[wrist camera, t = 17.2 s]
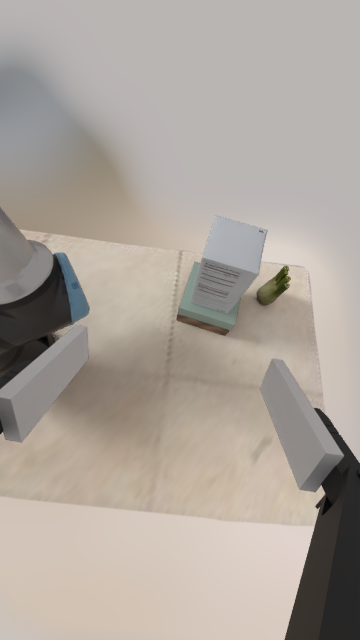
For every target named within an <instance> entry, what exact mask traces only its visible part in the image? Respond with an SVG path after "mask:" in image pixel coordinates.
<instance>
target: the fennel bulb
mask: <svg viewBox="0 0 360 640" xmlns="http://www.w3.org/2000/svg"><path fill="white" fill-rule="evenodd" d="M288 270H289V267H288V266H284V267H283V268H282V269H281V271H280V272H279V273H278V274H277V275H276V276H275V277H274V278H272V279H271V280H269V281H268V282H267V283H266V284H265V285H263V286H262V287H261V288H259V290H258V292H257V298H258V300H259V302H260V303H261V304H263V305H268V304H270V303H272V302H273V301H275V300H276V299H277V298H278V297H279V296H280V295H281V294H282V293H283V292H284V291H285V290H287V289H288V288H289V286H290V285H289V284H287V283H288V282H289V281H290V280H291V278H290V277H289V276H287V274H288Z"/></svg>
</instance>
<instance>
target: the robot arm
mask: <svg viewBox="0 0 360 640" xmlns="http://www.w3.org/2000/svg"><path fill="white" fill-rule="evenodd" d="M89 310H90V308H89V305H88V302H87V299H86V297H85V295H84V292H83V290H82V288H81V285H80V283H79V281H78V279H77V277H76V274H75V272H74V270H73V268H72V266H71V263H70V261H69V259H68V257H67V256H66V254H65V253H55V254H54V255H53V254H52V253H51V251H50V250H49V249H48V248H47V247H46V246H45V245H43V244H42V243H39V242H37V241H32V240H27V239H26V238H25V237H24V235H23V234H22V233H21V232H20V231H19V229H18V228H17V227H16V226H15V225H14V223H13V222H12V221H11V220H10V218H9V217H8V216H7V215H6V214H5V212H4V211H3V210H2V209H1V208H0V434H1V433H2V432H3V433H4V436H5V439H6V440H10V441H16V442H23V441H24V439H25V438H26V437H27V436H28V434H29V433H30V432H31V430H32V429H33V428H34V427H35V425H36V424H37V423H38V422H39V420H40V419H41V418H42V417H43V415H44V414H45V413H46V412H47V410H48V409H49V408H50V407H51V405H52V404H53V403H54V402H55V400H56V399H57V398H58V396H59V395H60V394H61V393H62V391H63V390H64V389H65V388H66V386H67V385H68V384H69V383H70V381H71V380H72V379H73V378H74V376H75V375H76V374H77V373H78V371H79V370H80V369H81V367H82V366H83V365H84V364H85V362H86V361H87V360H88V334H87V326H81V325H75V326H74V327H73V328H72V329H71V330H70V331H68V332H67V333H66V334H65V335H64V336H62V337H61V338H60V339H59V340H58V341H57V342H55V341H54V338H53V336H52V334H51V333H53V332H55V331H57V330H60V329H62V328H64V327H67V326H69V325H72V324H74V322H76V321H78V320H80V319H82V318H84V317H85V316H87V315H88V313H89ZM260 390H261V393H262V395H263V398H264V400H265V403H266V405H267V408H268V410H269V413H270V416H271V418H272V421H273V423H274V426H275V428H276V431H277V434H278V436H279V439H280V441H281V444H282V446H283V449H284V452H285V454H286V457H287V459H288V462H289V464H290V467H291V469H292V472H293V475H294V477H295V480H296V482H297V485H298V487H299V490H305V491H311V492H316V491H317V490H318V488H319V487H320V486H321V485H322V487H323V489H324V491H325V493H326V494H325V495H324V496H323V498H322V499H321V500H320V501H319V502H318V504H317V505H316V506H315V507H316V508H317V509H318V508H319V507H320V509H319V513H318V517H317V520H316V524H315V528H314V532H313V535H312V539H311V543H310V547H309V551H308V554H307V558H306V562H305V565H304V569H303V573H302V577H301V580H300V584H299V588H298V592H297V595H296V599H295V603H294V606H293V610H292V614H291V618H290V621H289V626H288V629H287V633H286V636H285V640H360V463H359V462H358V460H357V459H356V457H355V456H354V454H353V453H352V452H351V450H350V449H349V447H348V446H347V444H346V443H345V441H344V440H343V438H342V437H341V435H339V433H338V431H337V430H336V428H335V427H334V425H333V424H332V422H331V421H330V419H329V418H328V417H327V416H326V415H325V414H324V413H323V412H322V411H321V410H320V409H318V408H313V406H312V405H311V403H310V402H309V400H308V399H307V397H306V395H305V394H304V392H303V391H302V389H301V388H300V386H299V384H298V383H297V381H296V380H295V378H294V377H293V375H292V374H291V372H290V370H289V369H288V367H287V366H286V364H285V363H284V361H283V360H278V359H272V360H271V363H270V365H269V368H268V370H267V372H266V375H265V377H264V379H263V382H262V384H261V386H260Z"/></svg>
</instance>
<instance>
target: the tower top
mask: <svg viewBox="0 0 360 640" xmlns="http://www.w3.org/2000/svg"><path fill="white" fill-rule="evenodd" d="M199 267H200V263H198V262H194V265H193V268H192V271H191V274H190V277H189V280H188V283H187V285H186V288H185V291H184V294H183V297H182V300H181V303H180V306H179V310H178V314H179V315H183V316H186V317H189V318H192V319H195V320H198V321H202V322H205V323H208V324H211V325H214V326H218V327H221V328H224V329H227V330H230V329H231V328H232V327H233V326H234V325H235V321H236V317H237V313H238V308H239V304H240V300H241V297H240V299H239V300H238V302H237V303H236V304H235V305H234V307H233V308H232V309H231V310H230V312H229V313H228V314H226V313H223V312H220V311H216V310H213V309H210V308H206V307H203V306H200V305H197V304H193V303H191V302H190V301H191V297H192V293H193V290H194V286H195V282H196V278H197V274H198V271H199Z"/></svg>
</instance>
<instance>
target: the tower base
mask: <svg viewBox="0 0 360 640" xmlns="http://www.w3.org/2000/svg"><path fill="white" fill-rule="evenodd" d="M177 321H181V322H184V323H187V324H190V325H193V326H196V327H199V328H202V329H206V330H209V331H212V332H215V333H218V334H221V335H224V336H225V335H226V334H227V333H228V332H229V330H227V329H224V328H221V327H218V326H214V325H211V324H208V323H205V322H202V321H198V320H195V319H192V318H189V317H186V316H183V315H179V314H178V315H177Z"/></svg>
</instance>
